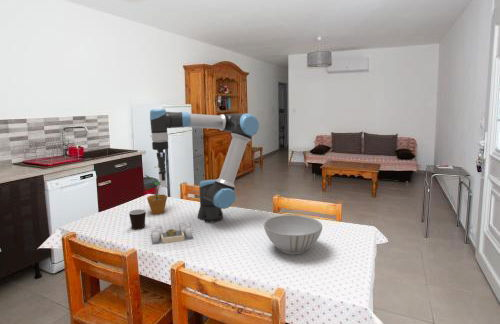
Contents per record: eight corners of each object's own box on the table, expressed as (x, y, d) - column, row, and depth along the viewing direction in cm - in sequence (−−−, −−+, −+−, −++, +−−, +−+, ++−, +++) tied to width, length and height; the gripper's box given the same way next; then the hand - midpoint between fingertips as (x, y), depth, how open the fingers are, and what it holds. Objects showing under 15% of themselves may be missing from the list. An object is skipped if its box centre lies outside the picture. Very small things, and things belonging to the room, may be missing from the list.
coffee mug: (141, 232, 181) (140, 214, 179) (127, 231, 182) (125, 213, 181) (152, 225, 192) (151, 208, 190) (138, 224, 194) (137, 207, 192)
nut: (166, 233, 176) (165, 229, 176) (175, 232, 178) (175, 228, 177) (166, 236, 172) (166, 232, 172) (176, 235, 174) (176, 231, 173)
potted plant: (163, 206, 227) (160, 162, 222) (177, 212, 213) (175, 165, 208) (137, 212, 215) (134, 165, 210) (151, 219, 201) (148, 169, 196)
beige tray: (189, 231, 182) (189, 221, 181) (194, 241, 169) (193, 230, 168) (150, 236, 176) (150, 225, 175) (152, 247, 163) (151, 235, 162)
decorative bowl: (308, 267, 141) (308, 240, 139) (253, 253, 155) (252, 227, 153) (329, 244, 164) (330, 220, 161) (279, 234, 178) (280, 211, 176)
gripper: (151, 138, 176) (154, 178, 180) (152, 144, 153) (156, 190, 157) (166, 138, 179) (168, 177, 182) (169, 143, 155) (172, 188, 159)
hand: (162, 183), depth 170 cm, fingers open, 13 cm apart
